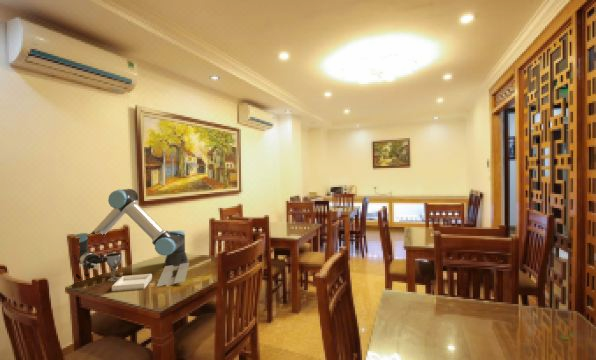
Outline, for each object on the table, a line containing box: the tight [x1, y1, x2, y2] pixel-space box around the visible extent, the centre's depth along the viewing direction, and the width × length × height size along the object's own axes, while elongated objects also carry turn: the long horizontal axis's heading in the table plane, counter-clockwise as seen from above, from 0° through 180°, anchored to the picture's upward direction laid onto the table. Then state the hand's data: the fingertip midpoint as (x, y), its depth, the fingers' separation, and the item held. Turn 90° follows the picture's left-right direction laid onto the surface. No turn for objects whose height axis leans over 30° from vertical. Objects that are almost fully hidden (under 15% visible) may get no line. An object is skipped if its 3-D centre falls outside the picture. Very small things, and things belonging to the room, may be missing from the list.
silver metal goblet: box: [105, 252, 123, 282], centre depth 178 cm, size 8×8×15 cm
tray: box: [111, 273, 153, 292], centre depth 168 cm, size 16×16×3 cm
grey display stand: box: [156, 262, 190, 287], centre depth 174 cm, size 16×9×15 cm
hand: (109, 264), depth 179 cm, fingers open, 13 cm apart
